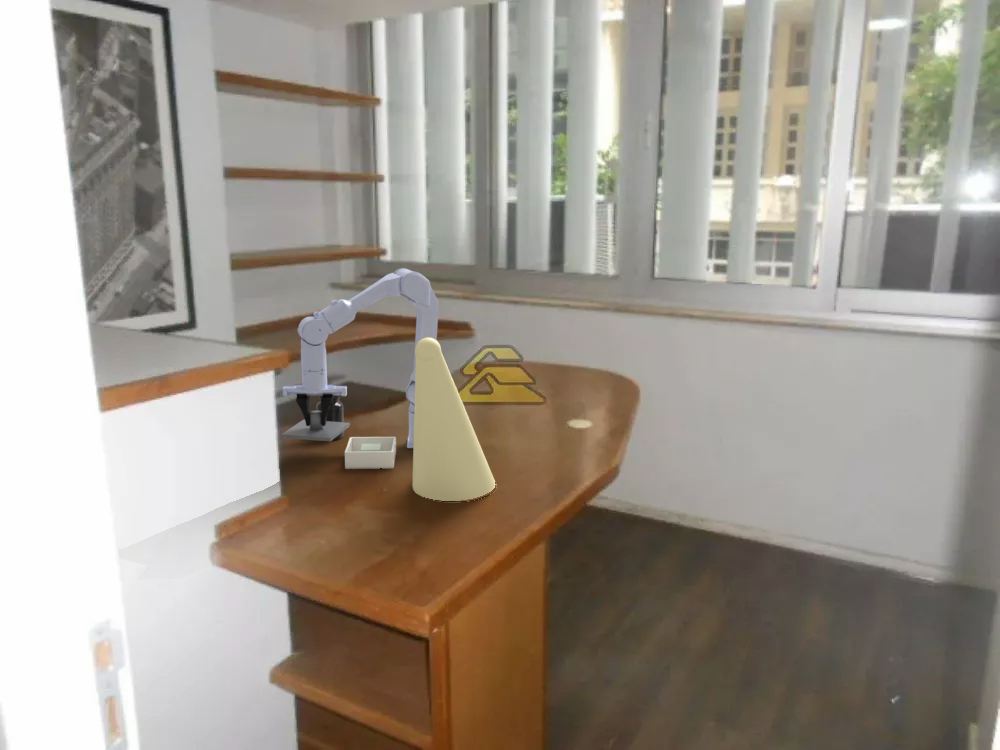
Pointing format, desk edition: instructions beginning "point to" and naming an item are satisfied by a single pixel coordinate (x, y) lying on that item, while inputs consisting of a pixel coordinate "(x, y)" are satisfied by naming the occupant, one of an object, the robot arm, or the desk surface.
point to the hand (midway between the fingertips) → (316, 424)
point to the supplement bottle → (333, 412)
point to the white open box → (370, 453)
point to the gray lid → (316, 429)
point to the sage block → (371, 447)
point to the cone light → (444, 434)
